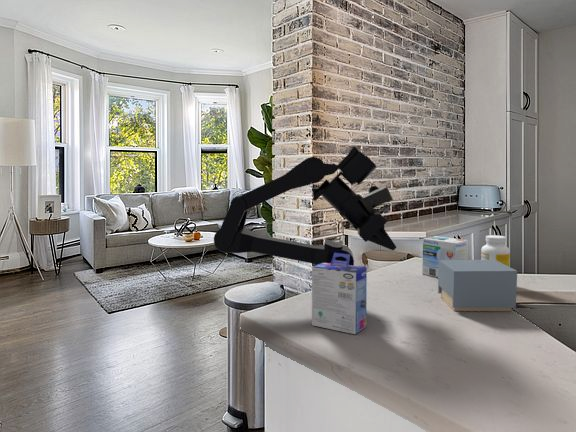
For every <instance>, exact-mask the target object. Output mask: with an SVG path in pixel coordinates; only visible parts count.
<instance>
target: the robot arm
mask: <svg viewBox="0 0 576 432" xmlns="http://www.w3.org/2000/svg"><path fill="white" fill-rule="evenodd" d="M377 167H378V166H377V165H376V163H374V161H373V160H372V159H371V158H370V157H368V155H365V154H364V153H363V152H362V151H360V150H359V149H358V148H357V147H356V146H353V147H352V148H351V149H350V150H349V152H348V153H347V155H345V157H344V158H343V159H342V160H341V161H340V162H339V163H338V164H336V163H335V162H334V163H325V162H324V161H323V160H322V159H321V158H318V157H315V156H310V157H307V158H306V159H304V160H302V161H301V162H299V163H298V164H297V165H296V166H294V167H293V168H291V169H290V170H289V171H287V172H286V173H285V174H284V175H281V176H280V177H277V178H275V179H273V180H271V181H269V182H266V183H265V184H263V185H260V186H258V187H256V188H254V189H252V190H249V191H247V192H245V193H243V194H241V195H237V196H235V197H233V198H232V199H231V201H230V205H229V207H228V210H227V212H226V215H225V217H224V219H223V221H222V223H221V226H220V229H218V230H217V231H216V232H215V233H214V236H213V243H214V246H215V248H216V249H217V251H219V252H221V253H224V254H241V253H242V254H244V253H256V254H262V255H268V256H271V257H277V258H283V259H287V260H293V261H298V262H303V263H307V264H312V265H313V266H316V265H318V264H321V263H331V262H332V258H333V255H334V253H343V254H350V260H349V265H354V266H355V260H354V255H353V251H352V250H351V248H350V247H349V246H347V245H345V244H343V242H342V241H339V242H337V241H333V240H330V239H326V238H325V239H324V244H318V245H315V244H314V245H313V244H310V243H303V242H298V241H293V240H287V239H283V238H277V237H273V236H267V235H266V236H265V235H261V234H257V233H256V232H253V231H252V230H250V229H248V228H245V225H246V221H247V217H248V213H249V210H250V209H252V208H254V207H256V206H258V205H260V204H263V203H264V202H267V201H269V200H271V199H274V198H275V197H278V196H279V195H281V194H284V193H286V192H288V191H290V190H294V189H298V188H301V187H306V186H309V185H314V184H317V183H320V182H321V181H322V180H323V179H324V178H325V177H326V176H331V175H333V174H335V173H336V172H337V171H338V170H340V171H339V172H338V173H337V174H336V175H335V177H333V178H332V179H331V180H330V181H329V180H328V179H327V178H326V179H325V180H324V181H323V182H322V183H321V184H320V185H319V186H318V187H312V189H311V191H312V193H313V197H312V199H313V201H317V200H318V199H319V198H320V197H323V199H324V200H326V202H327V203H328V204H329V205H331V206H332V208H334V210H336V211H337V212H338V213H339V215H340V216H341V217H343V218H344V219H345V220H346V221H347V222H348V223H349V224H351V226H352V227H353V229H355V230H356V231H357V234H358V236H359V237H360V238H361V239H362V240H363V241H364V242H365V243H366V242H371V243H374V244H376V245H378V246H380V247H384V248H385V249H386V248H387V249H388V250H391V251H395V250H396V249H397V246H396V244H395V243H394V240H392V238H391V237H390V235H389V233H387V232H388V231H386V229H385V224H386V223H387V222H388V219H386V218H385V217H384V216H383V215H382V214H381V213H380V212H376V208H378V207H379V206H381V205H383V204H385V203H389V202H391V201H393V196H392V194H391V192H390V190H389V188H388V186H381V187H378V186H377V185H372V186H369V187H368V193H366V194H364V195H363V196H362V195H360V193H357V192H355V191H354V190H353V189H352V188H351V187H350V185H351V186H354V184H357V185H358V186H360V184H362V182H364V181H365V180H366V179H367V178H368V177H369V176H370V175H371V173H373V172H374V171H375V170H376V169H377ZM341 176H342V178H343V179H345V180H346V182H348V183H349V184H350V185H348V184H347V183H346V182H345V181H344V180H343V179H342V178H341ZM335 260H340V261H346V260H347V259H346V258H344V257H336V258H335Z"/></svg>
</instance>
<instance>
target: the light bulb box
mask: <svg viewBox="0 0 576 432" xmlns="http://www.w3.org/2000/svg"><path fill="white" fill-rule="evenodd" d="M439 260H469V240H468V239H461V238H453V237H445V236H441V235H440V236H438V235H433V236H430V237H425V238H424V237H423V239H422V263H421V264H422V265H421V267H422V268H421V269H422V271H421V274H422V275H425V276H430V277H433V278H434V277H435V278H436V279H438V267H439Z"/></svg>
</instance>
